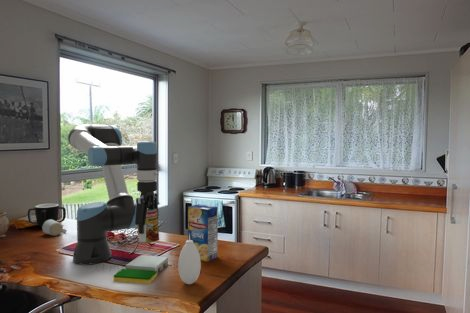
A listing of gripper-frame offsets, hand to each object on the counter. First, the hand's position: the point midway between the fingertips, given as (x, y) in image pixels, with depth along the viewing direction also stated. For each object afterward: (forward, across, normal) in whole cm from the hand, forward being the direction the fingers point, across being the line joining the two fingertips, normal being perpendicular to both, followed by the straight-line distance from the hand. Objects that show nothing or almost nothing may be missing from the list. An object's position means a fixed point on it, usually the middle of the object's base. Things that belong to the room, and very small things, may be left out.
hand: (147, 238), depth 139 cm
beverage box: (+12, +18, -17) cm, 28 cm away
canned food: (+1, 0, -1) cm, 1 cm away
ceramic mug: (+12, +34, +70) cm, 79 cm away
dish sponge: (+13, -10, 0) cm, 16 cm away
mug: (+12, +48, +87) cm, 100 cm away
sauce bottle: (+12, -10, -21) cm, 26 cm away
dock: (+12, 0, 0) cm, 12 cm away
